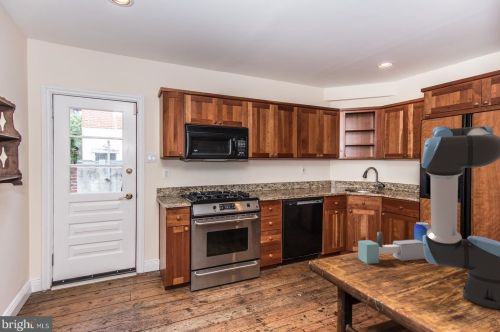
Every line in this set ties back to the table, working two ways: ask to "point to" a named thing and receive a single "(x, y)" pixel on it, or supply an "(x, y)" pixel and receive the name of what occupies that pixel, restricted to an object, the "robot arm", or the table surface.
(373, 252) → the socket block
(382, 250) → the sliding bolt with handle
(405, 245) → the white rectangular box
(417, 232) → the beer can
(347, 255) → the table surface
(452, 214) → the robot arm
